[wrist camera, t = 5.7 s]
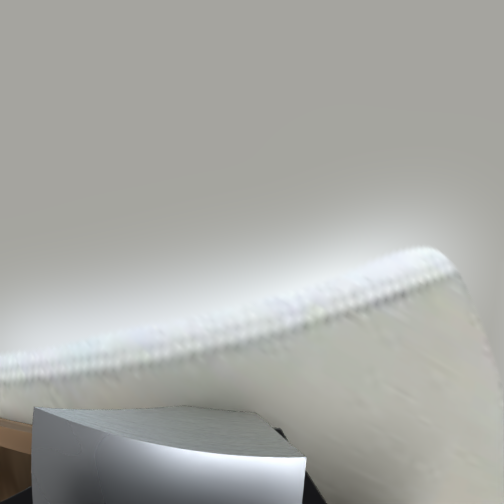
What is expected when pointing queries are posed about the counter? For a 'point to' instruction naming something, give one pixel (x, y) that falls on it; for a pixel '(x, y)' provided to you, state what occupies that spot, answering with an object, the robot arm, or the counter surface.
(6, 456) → the socket block
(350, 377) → the counter surface
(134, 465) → the square bit
